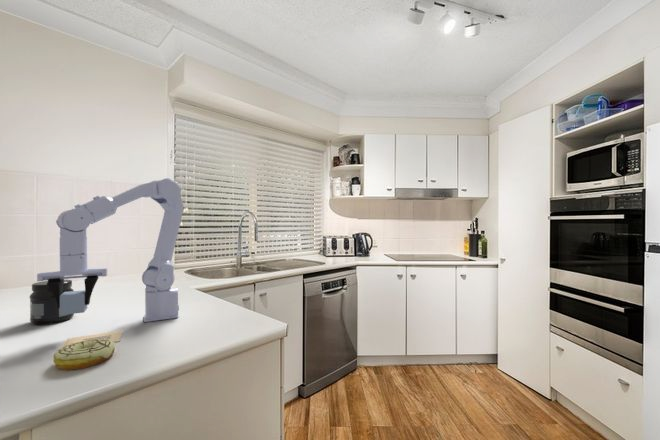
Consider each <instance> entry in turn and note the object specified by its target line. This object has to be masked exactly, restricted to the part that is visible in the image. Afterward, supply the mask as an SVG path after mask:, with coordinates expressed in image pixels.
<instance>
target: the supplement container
mask: <svg viewBox="0 0 660 440" xmlns="http://www.w3.org/2000/svg"><path fill="white" fill-rule="evenodd" d="M47 283H48V280H45V281H36V282H34V283H32V284H31V291H32V292H31V294H30V295H29V308H30V309H29V313H30V314H29V322H30V323H31V324H32V325H36V326H37V325H38V326H39V325H40V326H42V325H53V324H57V323H62V322H66V321H68V320H70V319H72V318H73V317H74V316H75V314H66V315H60V308H58V305H57V302H56V299H55V297H54V295H53V293H52V291H51V290H50V288H49V287H48V286H47ZM72 287H73V280H72V279H64V283H63V293H64V292H70V291H75V290H74V289H73V288H72Z"/></svg>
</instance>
